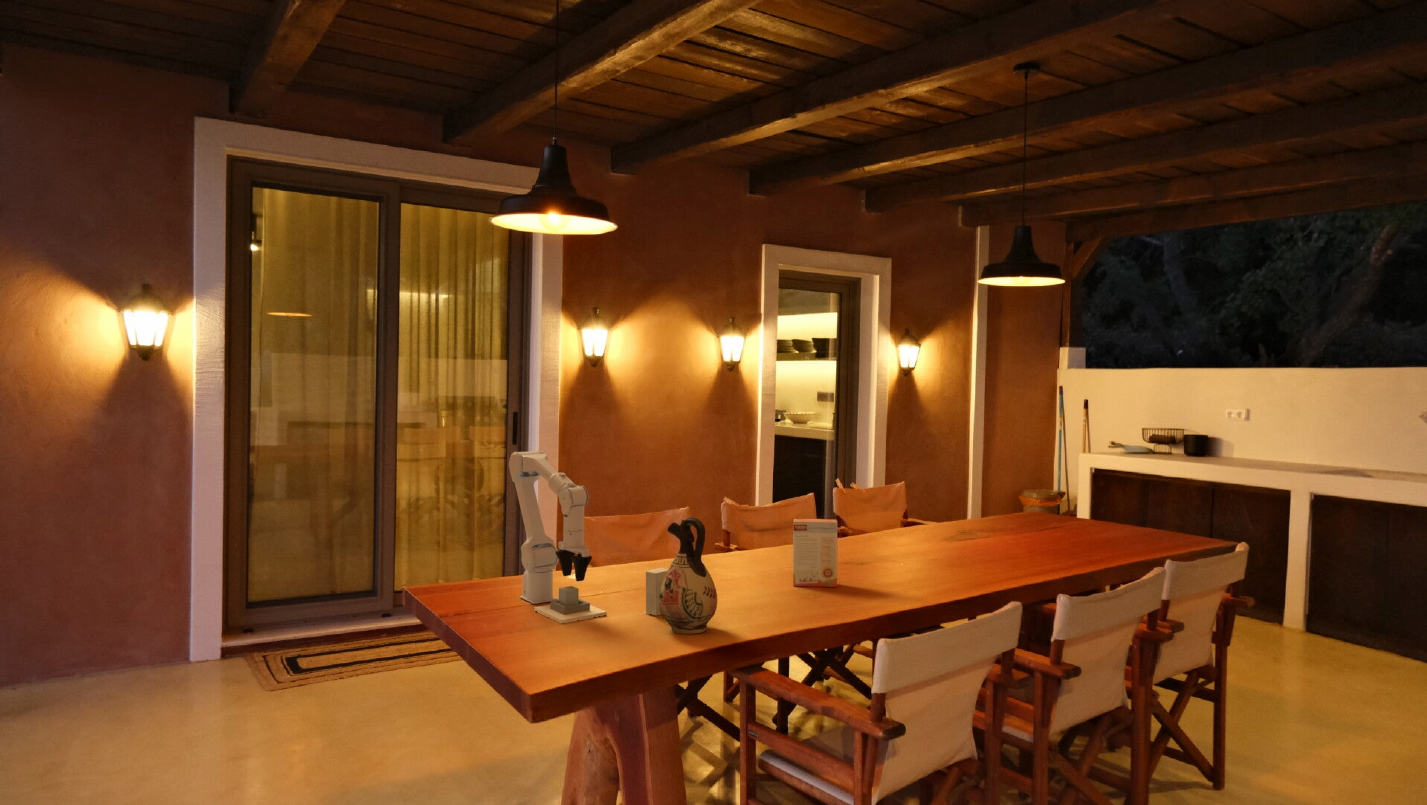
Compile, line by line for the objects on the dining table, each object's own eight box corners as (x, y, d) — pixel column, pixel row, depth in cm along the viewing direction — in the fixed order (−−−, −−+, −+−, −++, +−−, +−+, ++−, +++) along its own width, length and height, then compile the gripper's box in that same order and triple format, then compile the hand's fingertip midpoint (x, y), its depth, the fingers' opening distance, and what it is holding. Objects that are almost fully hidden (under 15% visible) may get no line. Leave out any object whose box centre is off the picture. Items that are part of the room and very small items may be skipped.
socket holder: (534, 610, 249) (534, 600, 249) (578, 603, 258) (578, 593, 258) (561, 623, 237) (561, 612, 237) (606, 615, 245) (606, 604, 245)
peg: (558, 609, 247) (558, 587, 247) (571, 607, 250) (571, 585, 250) (565, 612, 244) (565, 590, 244) (578, 610, 247) (578, 588, 247)
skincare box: (659, 609, 252) (660, 567, 252) (670, 612, 250) (671, 569, 249) (644, 613, 248) (645, 570, 247) (656, 616, 245) (656, 573, 245)
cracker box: (836, 583, 286) (837, 518, 285) (837, 588, 280) (838, 521, 279) (792, 582, 287) (793, 517, 286) (792, 586, 281) (793, 520, 280)
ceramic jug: (645, 629, 232) (646, 515, 231) (689, 618, 243) (690, 509, 242) (690, 643, 220) (691, 523, 219) (733, 631, 231) (734, 516, 230)
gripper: (548, 527, 252) (548, 575, 252) (573, 535, 240) (573, 585, 241) (571, 525, 256) (570, 571, 257) (596, 532, 245) (595, 581, 245)
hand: (573, 578), depth 249 cm, fingers open, 7 cm apart
